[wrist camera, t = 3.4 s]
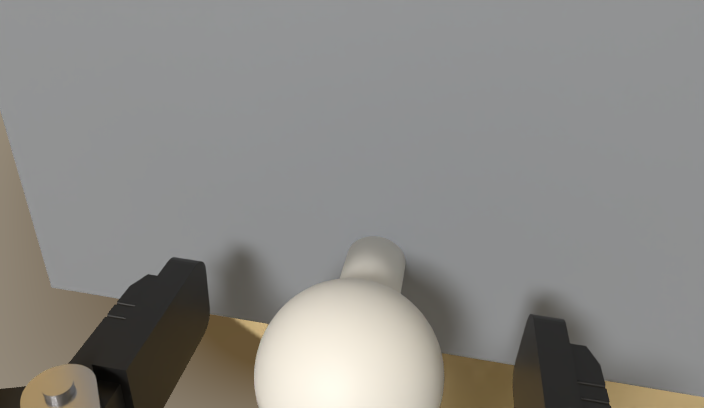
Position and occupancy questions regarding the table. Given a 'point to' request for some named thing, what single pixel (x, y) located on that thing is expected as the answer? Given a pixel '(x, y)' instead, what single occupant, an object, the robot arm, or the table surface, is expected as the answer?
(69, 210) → the lid
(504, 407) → the table surface
